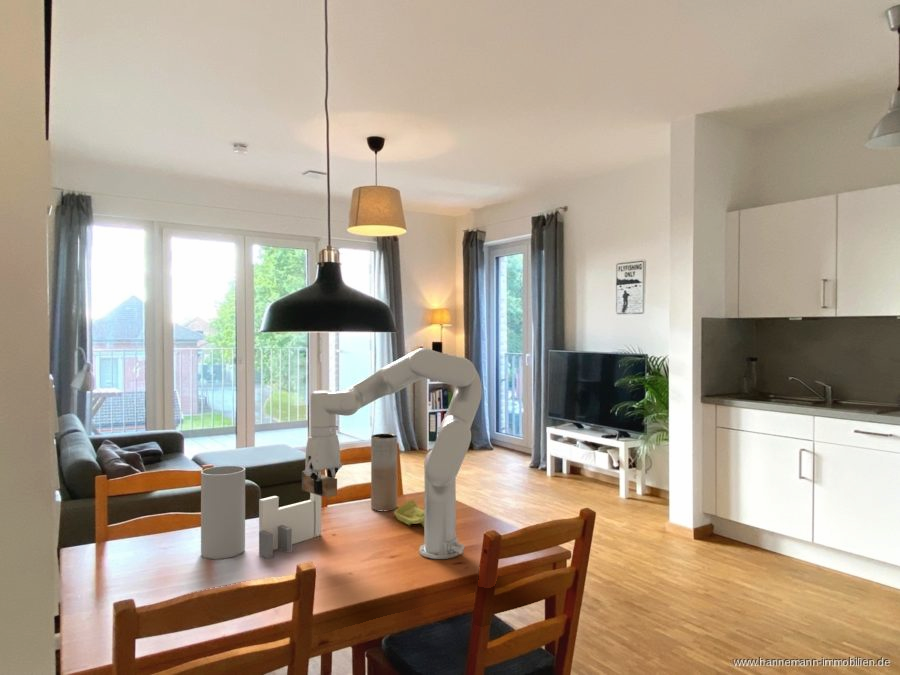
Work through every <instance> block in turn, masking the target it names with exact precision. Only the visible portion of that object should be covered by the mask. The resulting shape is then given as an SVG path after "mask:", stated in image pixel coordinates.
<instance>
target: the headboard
mask: <svg viewBox="0 0 900 675" xmlns="http://www.w3.org/2000/svg"><path fill="white" fill-rule="evenodd" d="M279 500H280V496H277V495H272V496H268V497H265V498H260V499H259V500H258V504H259V505H258V506H259V507H258V513H259V514H258V555H259V556H262V557H264V558H266V559H271V558H272V559H273V557H274V552H273V551H275V550H280V551H283V552H285V553H287V554H288V553H291V552H292V545H294V544H298V543H300V542H303V540H304V541H308V540H310V538H311V539H313V537H314V538H316V536H317V537H319V535H320V536H322V496H320V495H317V494H313V493H310V492H309V499H308V500H304V501H299V502H296V503H292V504H288V505H283V506H279V502H280V501H279Z"/></svg>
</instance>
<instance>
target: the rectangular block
mask: <svg viewBox="0 0 900 675" xmlns="http://www.w3.org/2000/svg"><path fill="white" fill-rule="evenodd" d="M304 471H305V470H302V471H301V490H302V491H303V492H306V493H309V494H310V493H313V494H316V493H314V480H312V478H311V477H310V476H309V475H306V474H304ZM311 472H313V469H311ZM320 481H322V494H317V495H320V496H321V497H324V498H328V499H329V498H332V497H336V496H338V478H336V477H335V478H332V477H329V476H327V475H325V474H321V480H320Z"/></svg>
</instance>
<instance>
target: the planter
mask: <svg viewBox="0 0 900 675" xmlns="http://www.w3.org/2000/svg"><path fill="white" fill-rule="evenodd" d="M370 440H371V441H370V443H371V444H370V445H371V446H370V449H371V450H370V455H371V456H370V460H371V461H370V473H371V474H370V475H371V476H370V479H371V480H370V486H371V487H370V505H371V506H370V507H371V509H372V510H373V509H375V510H383V511H382V512H385V511H384V510H391V511H394V510H396V509H397V508H398V436H397V434H393V433H376V434H372V435H371V438H370ZM395 508H396V509H395ZM393 509H394V510H393ZM375 510H374V511H375Z"/></svg>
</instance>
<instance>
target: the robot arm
mask: <svg viewBox="0 0 900 675" xmlns="http://www.w3.org/2000/svg"><path fill="white" fill-rule="evenodd" d="M423 378H424V379H427V380H430V381H435V382H437V383H443V384H446V385H450V386H454V389H453V394H452V398H451V401H450V403H449V406H448V407H447V410H446V412H445V415H444V416H443V419H442V421H441V423H440V425H439V427H438V434H437V437H436V439H435V442H434V444H433V447H432V448H431V450H430V451H428V452H427V454H426V456H425V458H424V463H423V467H424V468H423V471H424V472H423V473H424V474H423V475H424V501H423V502H424V509H423V510H424V528H423V530H424V533H423V534H424V536H423V537H424V540H423V542H424V543H423V544H421V545H420V546H419V551H418V552H419V554H420V555H421V556H422V557H425V558H429V559H432V560H434V559H435V560H447V559H451V558H454V557H457V556H459V555H462V554H463V551H464V549H465V545H464V544H460V543H459V537H456V534H457V533H456V531H457V530H456V527H457V526H456V523H457V522H456V519H457V518H456V514H457V513H456V500H457V499H456V498H457V495H456V494H457V491H456V487H457V486H456V484H457V481H456V478H457V476H458V473H459V471H460V469H461V466H462V464H463V462H464V459H465V457H466V454H467V453H468V450H469V448H470V444H471V441H472V430H471V429H472V424H473V421H474V419H475V417H476V414H477V411H478V409H479V406H480V404H481V399H482V393H483V391H482V390H483V388H482V387H483V386H482V381H481V377H480V374H479V372H478V371H477V369H476V367H475V365H474V363H473V362H472V361H471V360H469V359H468V358H466V357H463V356H456V355H451V354H448V353H443V352H441V351H436V350H433V349H430V348H428V347H420V348H417V349H415V350H414V351H411V352H409V353H408V354H406V355H404V356H402V357H400V358H398V359H397V360H395V361H392V362H391V363H389V364H387V365H386V366H383V367H382V368H380V369H378V370H377V371H376V372H375V373H373V374H372V375H370V376H368V377H367V378H364V379H363V380H361V381H359V382H357V383H356V384H354V385H350V387H347V388H346V389H344V390H342V391H333V390H328V389H327V390H314V391H312V392H311V393H310V403H309V404H310V405H309V406H310V436H308V438H307V442H306V447H305V461H304V463H305V469H304V470H303V471H304V474H306V475H309V476H310V477H311V478H312V480H314V493H316V494H322V481H320V480H321V475H322V471H324V470H325V472H326V476H329V477H332V478H336V475H337V473H338V471H339V470H340V469H341V468H342V467H343V463H342V461H341V450H340V448H341V446H340V440H339V437H338V434H337V431H338V430H339V426H338V425H337V416H346V417H347V416H352V415H354V414H356V413H357V412H358V411H359V410H360V409H362V408H363V407H365V406H367V405H368V404H371V403H372V402H375V401H377V400H379V399H381V398H383V397H385V396H388V395H389V396H390V395H393V394H395V393H398V392H399V391H401V390H403V389H405V388H407V387H409V386H410V385H412V384H414V383H416V382H418V381H420V380H421V379H423ZM311 469H312V470H313V472H311Z"/></svg>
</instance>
